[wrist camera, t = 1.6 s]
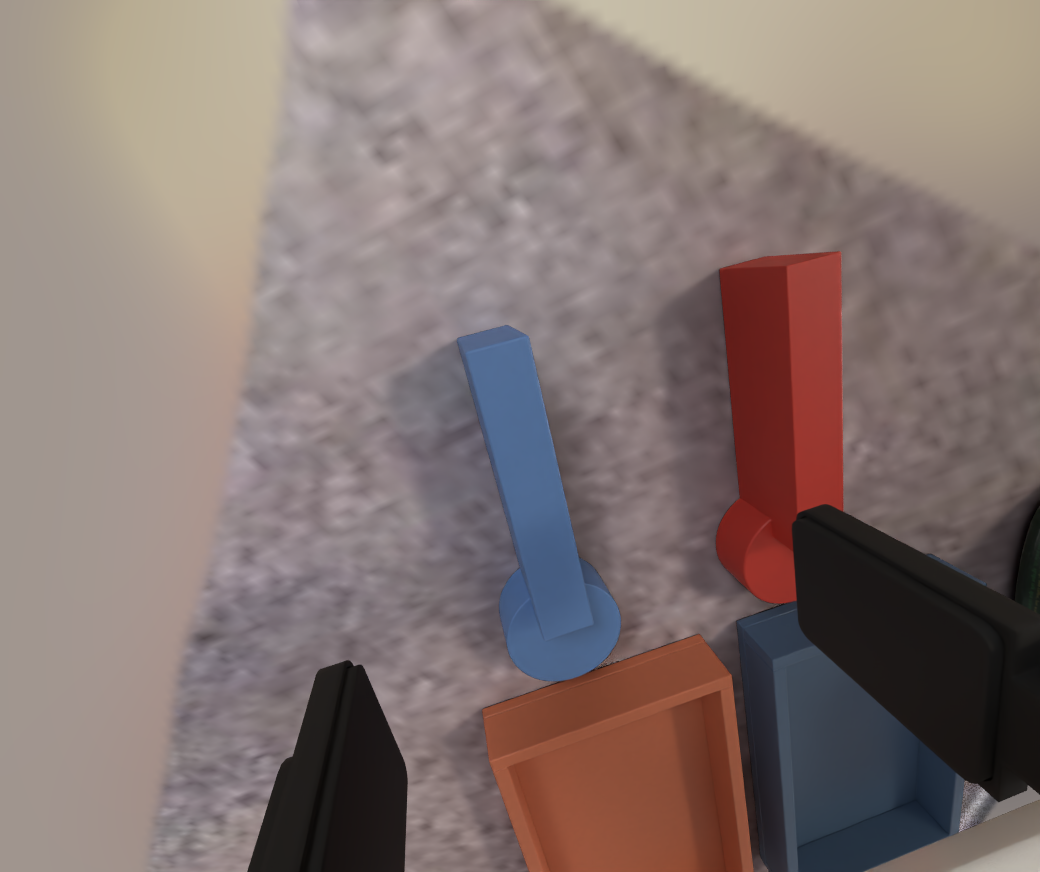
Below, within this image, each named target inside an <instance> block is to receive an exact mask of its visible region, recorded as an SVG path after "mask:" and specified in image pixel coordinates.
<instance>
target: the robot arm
mask: <svg viewBox="0 0 1040 872" xmlns="http://www.w3.org/2000/svg"><path fill="white" fill-rule="evenodd" d="M792 541H793V555H794V569H795V584H796V598H797V612H798V623H799V626H800V628H801V630H802V632H803V634H804V635H805V636H806V637H807V638H808V640H809V641H811V642H812V643H813V644H814V645H815V646H816V647H817V648H818V649H819V650H821V651H822V652H823V653H824V654H825V655H826V656H827V657H828V658H829V659H831V660H832V661H833V662H834V663H835V664H836V665H837V666H838V667H839V668H841V669H842V670H843V671H844V672H845V673H846V674H847V675H848V676H849V677H850V678H852V679H853V680H854V681H855V682H856V683H857V684H858V685H859V686H860V687H862V688H863V689H864V690H865V691H866V692H867V693H868V694H869V695H870V696H872V697H873V698H874V699H875V700H876V701H877V702H878V703H879V704H880V705H882V706H883V707H884V708H885V709H886V710H887V711H888V712H889V713H890V714H891V715H893V716H894V717H895V718H896V719H897V720H898V721H899V722H900V723H901V724H903V725H904V726H905V727H906V728H907V729H908V730H909V731H910V732H911V733H913V734H914V735H915V736H916V737H917V738H918V739H919V740H920V741H921V742H922V743H924V744H925V745H926V746H927V747H928V748H929V749H930V750H931V751H932V752H934V753H935V754H936V755H937V756H938V757H939V758H940V759H941V760H942V761H944V762H945V763H946V764H947V765H948V766H949V767H950V768H951V769H952V770H954V771H955V772H956V773H957V774H958V775H959V776H960V777H962V778H963V779H964V780H966V781H968V782H970V783H974V784H976V783H977V784H979V785H980V786H981V787H982V788H983V789H984V790H985V791H986V792H988V793H989V794H990V795H991V796H992V797H993V798H994V799H995V800H997V801H998V802H1000V801H1003V800H1005V799H1007V798H1010V797H1012V796H1015V795H1017V794H1019V793H1022V792H1024V791H1027V786H1028V785H1029V786H1030V787H1031V788H1033V789H1034V790H1035V791H1036V792H1037V793H1039V794H1040V614H1038V613H1036V612H1034V611H1032V610H1030V609H1029V608H1027V607H1025V606H1023V605H1021V604H1019V603H1017V602H1015V601H1013V600H1011V599H1009V598H1007V597H1006V596H1004V595H1002V594H1000V593H998V592H996V591H994V590H992V589H990V588H988V587H986V586H984V585H983V584H981V583H979V582H977V581H975V580H973V579H971V578H969V577H967V576H965V575H963V574H961V573H960V572H958V571H956V570H954V569H952V568H950V567H948V566H946V565H944V564H942V563H940V562H938V561H937V560H935V559H933V558H931V557H929V556H927V555H925V554H923V553H921V552H919V551H917V550H915V549H914V548H912V547H910V546H908V545H906V544H904V543H902V542H900V541H898V540H896V539H894V538H892V537H891V536H889V535H887V534H885V533H883V532H881V531H879V530H877V529H875V528H873V527H871V526H869V525H868V524H866V523H864V522H862V521H860V520H858V519H856V518H854V517H852V516H850V515H848V514H846V513H845V512H843V511H841V510H839V509H837V508H835V507H833V506H831V505H828V504H822V505H819V506H816V507H813V508H810V509H807V510H804V511H801V512H799V513H798V514H797V517H796V521H794V522H793V523H792ZM407 785H408V780H407V771H406V766H405V762H404V760H403V757H402V755H401V753H400V750H399V748H398V746H397V743H396V741H395V739H394V736H393V734H392V732H391V729H390V727H389V725H388V722H387V720H386V718H385V716H384V713H383V711H382V709H381V706H380V704H379V702H378V699H377V697H376V695H375V692H374V690H373V688H372V685H371V683H370V681H369V679H368V676H367V674H366V672H365V669H364V667H363V666H362V665H357V666H354V665H353V664H352V662H351V661H348V660H347V661H344V662H341V663H338V664H335V665H332V666H329V667H326V668H323V669H320V670H319V671H318V672H317V674H316V677H315V681H314V684H313V688H312V691H311V695H310V698H309V702H308V705H307V709H306V712H305V716H304V719H303V723H302V726H301V730H300V733H299V737H298V740H297V743H296V747H295V750H294V754H293V757H290V758H287V759H286V760H285V761H284V762H283V763H282V764H281V767H280V769H279V771H278V774H277V777H276V781H275V784H274V787H273V790H272V794H271V797H270V800H269V803H268V806H267V810H266V813H265V816H264V819H263V823H262V826H261V829H260V832H259V836H258V839H257V842H256V845H255V849H254V852H253V855H252V858H251V862H250V865H249V868H248V871H247V872H404V868H405V840H406V813H407ZM865 872H1040V800H1038V801H1035V802H1032V803H1030V804H1027V805H1025V806H1022V807H1020V808H1018V809H1015V810H1013V811H1010V812H1008V813H1005V814H1003V815H1001V816H998V817H996V818H993V819H991V820H988V821H986V822H983V823H981V824H979V825H976V826H974V827H971V828H969V829H966V830H964V831H962V832H959V833H957V834H954V835H952V836H949V837H947V838H945V839H942V840H940V841H937V842H935V843H932V844H930V845H928V846H925V847H923V848H920V849H918V850H915V851H913V852H911V853H908V854H906V855H903V856H901V857H898V858H896V859H894V860H891V861H889V862H886V863H884V864H881V865H879V866H877V867H874V868H872V869H870V870H867V871H865Z"/></svg>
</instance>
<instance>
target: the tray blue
mask: <svg viewBox="0 0 1040 872" xmlns="http://www.w3.org/2000/svg"><path fill="white" fill-rule="evenodd" d="M927 556H929V557H931V558H933V559H935V560H937V561H938V562H940V563H942V564H944V565H946V566H948V567H950V568H952V569H954V570H956V571H958V572H960V573H961V574H963V575H965V576H967V577H969V578H971V579H973V580H975V581H977V582H979V583H981V584H983V585H984V586H986V587H987V584H986V583H985V582H983V581H981V580H979V579H977V578H975V577H973V576H971V575H970V574H968V573H966V572H964V571H962V570H960V569H958V568H957V567H955V566H953V565H951V564H949V563H947V562H945V561H944V560H941V559H940V558H938V557H936V556H934V555H933V554H928V555H927ZM737 631H738V641H739V651H740V661H741V671H742V680H743V690H744V700H745V710H746V720H747V729H748V739H749V749H750V759H751V769H752V778H753V788H754V798H755V808H756V818H757V827H758V837H759V847H760V857H761V859H762V861H763V862H764V864H765V865H766V867H767V869H768V871H769V872H865V871H867V870H870V869H872V868H874V867H877V866H879V865H881V864H884V863H886V862H889V861H891V860H894V859H896V858H898V857H901V856H903V855H906V854H908V853H911V852H913V851H915V850H918V849H920V848H923V847H925V846H928V845H930V844H932V843H935V842H937V841H940V840H942V839H945V838H947V837H949V836H952V835H954V834H957V833H959V825H960V816H961V807H962V799H963V790H964V781H965V780H964V779H963V778H962V777H960V776H959V775H958V774H957V773H956V772H955V771H954V770H952V769H951V768H950V767H949V766H948V765H947V764H946V763H945V762H944V761H942V760H941V759H940V758H939V757H938V756H937V755H936V754H935V753H934V752H932V751H931V750H930V749H929V748H928V747H927V746H926V745H925V744H924V743H922V742H921V741H920V740H919V739H918V738H917V737H916V736H915V735H914V734H913V733H911V732H910V731H909V730H908V729H907V728H906V727H905V726H904V725H903V724H901V723H900V722H899V721H898V720H897V719H896V718H895V717H894V716H893V715H891V714H890V713H889V712H888V711H887V710H886V709H885V708H884V707H883V706H882V705H880V704H879V703H878V702H877V701H876V700H875V699H874V698H873V697H872V696H870V695H869V694H868V693H867V692H866V691H865V690H864V689H863V688H862V687H860V686H859V685H858V684H857V683H856V682H855V681H854V680H853V679H852V678H850V677H849V676H848V675H847V674H846V673H845V672H844V671H843V670H842V669H841V668H839V667H838V666H837V665H836V664H835V663H834V662H833V661H832V660H831V659H829V658H828V657H827V656H826V655H825V654H824V653H823V652H822V651H821V650H819V649H818V648H817V647H816V646H815V645H814V644H813V643H812V642H811V641H809V640H808V638H807V637H806V636H805V635H804V634H803V632H802V630H801V628H800V626H799V623H798V612H797V601H793V602H790V603H787V604H784V605H781V606H778V607H776V608H773V609H770V610H767V611H764V612H761V613H758V614H755V615H752V616H750V617H747V618H744V619H741V620H738V621H737Z"/></svg>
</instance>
